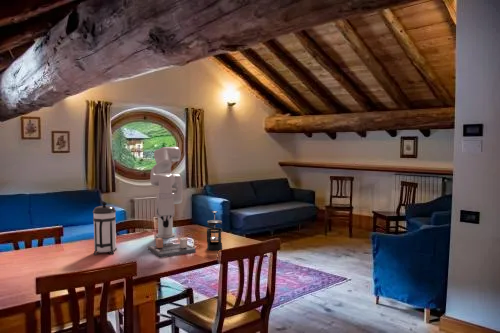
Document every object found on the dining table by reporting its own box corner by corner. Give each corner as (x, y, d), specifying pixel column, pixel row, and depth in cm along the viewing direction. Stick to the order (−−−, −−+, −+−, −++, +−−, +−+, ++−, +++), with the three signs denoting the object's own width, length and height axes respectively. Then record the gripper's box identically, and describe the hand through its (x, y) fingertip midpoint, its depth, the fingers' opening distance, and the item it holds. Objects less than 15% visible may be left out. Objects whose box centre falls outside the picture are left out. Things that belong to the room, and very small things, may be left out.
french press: (226, 248, 259) (226, 211, 258) (214, 251, 252) (214, 213, 251) (213, 245, 267) (213, 209, 266) (202, 248, 261) (201, 211, 259)
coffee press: (85, 253, 250) (84, 202, 248) (110, 247, 262) (109, 199, 260) (100, 258, 238) (99, 205, 236) (125, 252, 250) (124, 202, 248)
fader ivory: (179, 246, 255) (179, 238, 255) (184, 246, 257) (184, 237, 256) (182, 248, 252) (182, 239, 251) (187, 247, 253) (187, 238, 253)
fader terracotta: (155, 246, 255) (155, 238, 255) (160, 245, 257) (160, 237, 256) (158, 248, 252) (158, 239, 251) (162, 247, 253) (162, 238, 253)
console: (147, 250, 257) (147, 245, 256) (181, 245, 269) (181, 240, 268) (160, 257, 240) (160, 252, 240) (195, 252, 252) (195, 247, 252)
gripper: (174, 194, 257) (174, 224, 258) (150, 196, 248) (151, 227, 249) (180, 195, 251) (180, 226, 252) (155, 197, 242) (156, 229, 243)
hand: (165, 227), depth 251 cm, fingers closed
